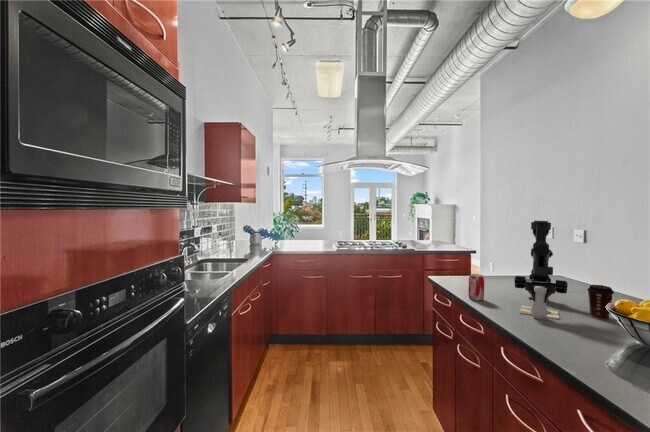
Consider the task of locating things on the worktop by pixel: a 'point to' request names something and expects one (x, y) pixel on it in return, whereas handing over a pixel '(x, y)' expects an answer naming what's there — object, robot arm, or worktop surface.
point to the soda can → (476, 287)
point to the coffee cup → (599, 300)
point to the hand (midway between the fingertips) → (539, 301)
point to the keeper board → (551, 312)
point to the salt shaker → (539, 303)
